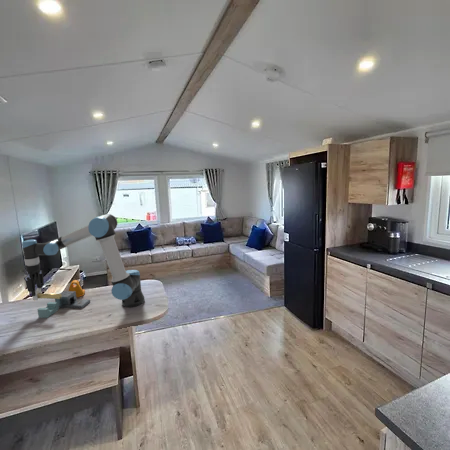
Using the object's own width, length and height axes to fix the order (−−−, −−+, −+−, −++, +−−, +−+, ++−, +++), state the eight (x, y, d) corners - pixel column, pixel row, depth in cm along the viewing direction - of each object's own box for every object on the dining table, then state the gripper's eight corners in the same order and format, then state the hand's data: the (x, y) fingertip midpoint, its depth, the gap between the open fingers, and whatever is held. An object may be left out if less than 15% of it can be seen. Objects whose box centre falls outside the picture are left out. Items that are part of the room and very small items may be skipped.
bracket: (85, 292, 207) (83, 277, 205) (83, 296, 201) (81, 281, 198) (69, 294, 204) (67, 279, 202) (67, 298, 197) (65, 283, 195)
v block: (58, 309, 181) (57, 302, 180) (47, 317, 171) (46, 309, 170) (50, 309, 181) (49, 302, 180) (38, 317, 171) (37, 309, 170)
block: (90, 302, 191) (88, 291, 189) (82, 308, 182) (80, 297, 181) (65, 301, 193) (63, 291, 191) (56, 307, 184) (54, 296, 182)
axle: (62, 297, 174) (61, 293, 174) (58, 299, 172) (58, 295, 171) (36, 296, 176) (35, 292, 176) (32, 299, 173) (31, 294, 173)
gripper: (36, 260, 179) (41, 293, 183) (16, 268, 163) (22, 304, 167) (47, 260, 178) (52, 293, 182) (27, 268, 162) (33, 304, 166)
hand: (37, 298), depth 175 cm, fingers closed on axle, 3 cm apart
